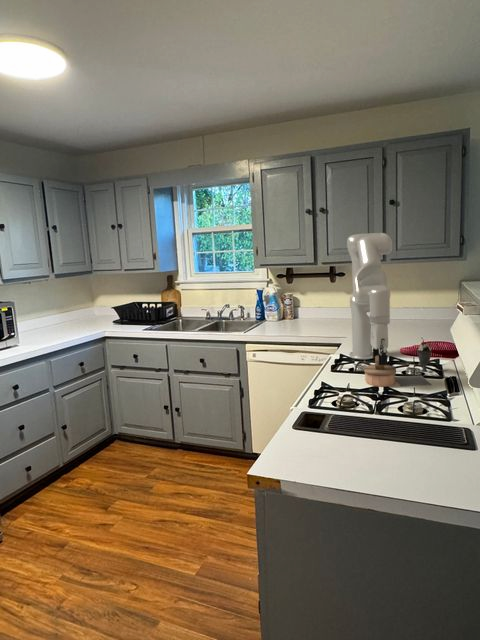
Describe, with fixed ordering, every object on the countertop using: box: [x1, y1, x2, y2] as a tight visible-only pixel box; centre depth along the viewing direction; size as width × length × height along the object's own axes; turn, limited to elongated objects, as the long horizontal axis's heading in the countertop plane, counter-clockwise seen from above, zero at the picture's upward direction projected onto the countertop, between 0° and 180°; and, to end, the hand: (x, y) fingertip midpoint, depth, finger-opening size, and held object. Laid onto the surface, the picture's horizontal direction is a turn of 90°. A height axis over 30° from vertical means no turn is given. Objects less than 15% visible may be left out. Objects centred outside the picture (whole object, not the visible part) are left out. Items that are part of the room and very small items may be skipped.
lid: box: [363, 355, 397, 376], centre depth 179 cm, size 12×12×6 cm
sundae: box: [415, 337, 434, 373], centre depth 189 cm, size 7×7×15 cm
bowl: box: [364, 372, 396, 388], centre depth 180 cm, size 11×11×5 cm
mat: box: [395, 375, 433, 387], centre depth 179 cm, size 12×12×1 cm
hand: (379, 361), depth 178 cm, fingers open, 9 cm apart
